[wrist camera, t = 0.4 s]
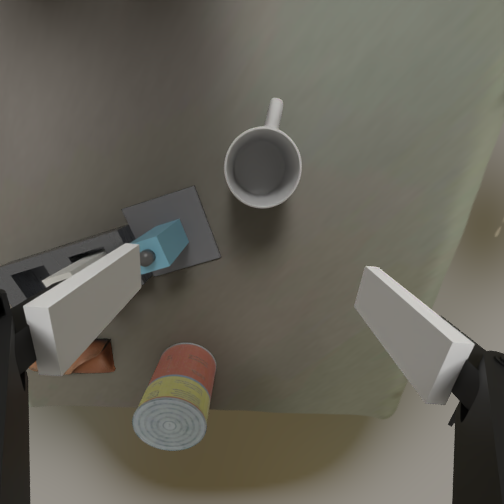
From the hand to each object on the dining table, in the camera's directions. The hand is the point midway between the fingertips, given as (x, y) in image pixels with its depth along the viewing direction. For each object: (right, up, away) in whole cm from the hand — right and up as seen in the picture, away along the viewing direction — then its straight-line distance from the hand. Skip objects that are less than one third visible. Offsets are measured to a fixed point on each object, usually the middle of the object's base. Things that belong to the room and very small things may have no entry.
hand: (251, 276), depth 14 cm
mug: (+2, +16, +22) cm, 27 cm away
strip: (-29, -1, +27) cm, 40 cm away
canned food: (-13, -21, +35) cm, 43 cm away
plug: (-13, +4, +25) cm, 28 cm away
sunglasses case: (-36, -18, +34) cm, 53 cm away
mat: (-13, +4, +25) cm, 29 cm away
